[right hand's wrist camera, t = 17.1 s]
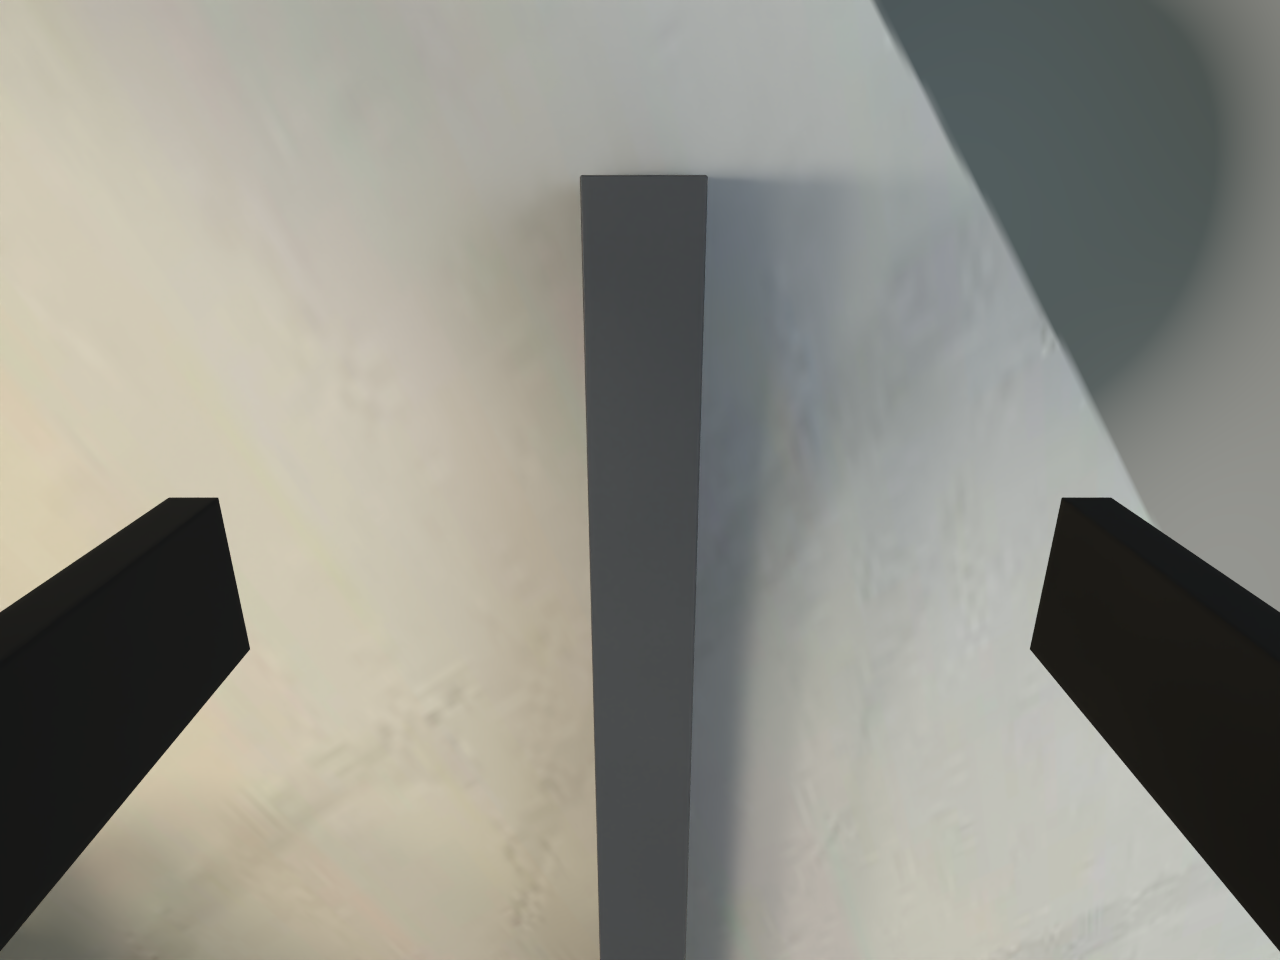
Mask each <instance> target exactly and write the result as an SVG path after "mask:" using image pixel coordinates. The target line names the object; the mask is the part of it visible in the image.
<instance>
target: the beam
mask: <svg viewBox="0 0 1280 960" xmlns="http://www.w3.org/2000/svg"><path fill="white" fill-rule="evenodd" d="M707 180H708V177H707V176H706V175H581V176H580V195H581V234H582V273H583V312H584V351H585V390H586V429H587V468H588V507H589V546H590V585H591V624H592V663H593V702H594V741H595V780H596V819H597V858H598V898H599V937H600V960H685V951H686V916H687V881H688V846H689V811H690V776H691V741H692V705H693V670H694V635H695V600H696V565H697V530H698V495H699V460H700V425H701V390H702V355H703V320H704V285H705V250H706V215H707Z"/></svg>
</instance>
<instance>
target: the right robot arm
mask: <svg viewBox="0 0 1280 960" xmlns="http://www.w3.org/2000/svg"><path fill="white" fill-rule="evenodd" d="M249 650H250V646H249V642H248V637H247V632H246V627H245V623H244V618H243V613H242V608H241V604H240V599H239V594H238V589H237V585H236V580H235V575H234V571H233V566H232V561H231V556H230V552H229V547H228V542H227V537H226V533H225V528H224V523H223V518H222V514H221V509H220V504H219V499H218V498H168V499H166V500H165V501H163V502H162V503H160V504H159V505H157V506H156V507H155V508H153V509H152V510H150V511H149V512H147V513H146V514H144V515H143V516H141V517H140V518H138V519H137V520H135V521H134V522H132V523H131V524H129V525H128V526H127V527H125V528H124V529H122V530H121V531H119V532H118V533H116V534H115V535H113V536H112V537H110V538H109V539H107V540H106V541H104V542H103V543H102V544H100V545H99V546H97V547H96V548H94V549H93V550H91V551H90V552H88V553H87V554H85V555H84V556H82V557H81V558H79V559H78V560H77V561H75V562H74V563H72V564H71V565H69V566H68V567H66V568H65V569H63V570H62V571H60V572H59V573H57V574H56V575H54V576H53V577H52V578H50V579H49V580H47V581H46V582H44V583H43V584H41V585H40V586H38V587H37V588H35V589H34V590H32V591H31V592H29V593H28V594H27V595H25V596H24V597H22V598H21V599H19V600H18V601H16V602H15V603H13V604H12V605H10V606H9V607H7V608H6V609H4V610H3V611H2V612H0V951H1V950H2V949H3V947H4V946H5V945H6V944H7V943H8V941H9V940H10V939H11V938H12V936H13V935H14V934H15V933H16V932H17V930H18V929H19V928H20V927H21V926H22V924H23V923H24V922H25V921H26V920H27V918H28V917H29V916H30V915H31V914H32V912H33V911H34V910H35V909H36V907H37V906H38V905H39V904H40V903H41V901H42V900H43V899H44V898H45V897H46V895H47V894H48V893H49V892H50V891H51V889H52V888H53V887H54V886H55V884H56V883H57V882H58V881H59V880H60V878H61V877H62V876H63V875H64V874H65V872H66V871H67V870H68V869H69V868H70V866H71V865H72V864H73V863H74V862H75V860H76V859H77V858H78V857H79V855H80V854H81V853H82V852H83V851H84V849H85V848H86V847H87V846H88V845H89V843H90V842H91V841H92V840H93V839H94V837H95V836H96V835H97V834H98V832H99V831H100V830H101V829H102V828H103V826H104V825H105V824H106V823H107V822H108V820H109V819H110V818H111V817H112V816H113V814H114V813H115V812H116V811H117V809H118V808H119V807H120V806H121V805H122V803H123V802H124V801H125V800H126V799H127V797H128V796H129V795H130V794H131V793H132V791H133V790H134V789H135V788H136V787H137V785H138V784H139V783H140V782H141V780H142V779H143V778H144V777H145V776H146V774H147V773H148V772H149V771H150V770H151V768H152V767H153V766H154V765H155V764H156V762H157V761H158V760H159V759H160V757H161V756H162V755H163V754H164V753H165V751H166V750H167V749H168V748H169V747H170V745H171V744H172V743H173V742H174V741H175V739H176V738H177V737H178V736H179V734H180V733H181V732H182V731H183V730H184V728H185V727H186V726H187V725H188V724H189V722H190V721H191V720H192V719H193V718H194V716H195V715H196V714H197V713H198V712H199V710H200V709H201V708H202V707H203V705H204V704H205V703H206V702H207V701H208V699H209V698H210V697H211V696H212V695H213V693H214V692H215V691H216V690H217V689H218V687H219V686H220V685H221V684H222V682H223V681H224V680H225V679H226V678H227V676H228V675H229V674H230V673H231V672H232V670H233V669H234V668H235V667H236V666H237V664H238V663H239V662H240V661H241V659H242V658H243V657H244V656H245V655H246V653H247V652H248V651H249ZM1030 650H1031V651H1032V652H1033V653H1034V655H1035V656H1036V657H1037V658H1038V659H1039V661H1040V662H1041V663H1042V664H1043V666H1044V667H1045V668H1046V669H1047V670H1048V672H1049V673H1050V674H1051V675H1052V676H1053V678H1054V679H1055V680H1056V681H1057V682H1058V684H1059V685H1060V686H1061V687H1062V689H1063V690H1064V691H1065V692H1066V693H1067V695H1068V696H1069V697H1070V698H1071V699H1072V701H1073V702H1074V703H1075V704H1076V705H1077V707H1078V708H1079V709H1080V710H1081V712H1082V713H1083V714H1084V715H1085V716H1086V718H1087V719H1088V720H1089V721H1090V722H1091V724H1092V725H1093V726H1094V727H1095V728H1096V730H1097V731H1098V732H1099V733H1100V734H1101V736H1102V737H1103V738H1104V739H1105V741H1106V742H1107V743H1108V744H1109V745H1110V747H1111V748H1112V749H1113V750H1114V751H1115V753H1116V754H1117V755H1118V756H1119V757H1120V759H1121V760H1122V761H1123V762H1124V764H1125V765H1126V766H1127V767H1128V768H1129V770H1130V771H1131V772H1132V773H1133V774H1134V776H1135V777H1136V778H1137V779H1138V780H1139V782H1140V783H1141V784H1142V785H1143V787H1144V788H1145V789H1146V790H1147V791H1148V793H1149V794H1150V795H1151V796H1152V797H1153V799H1154V800H1155V801H1156V802H1157V803H1158V805H1159V806H1160V807H1161V808H1162V809H1163V811H1164V812H1165V813H1166V814H1167V816H1168V817H1169V818H1170V819H1171V820H1172V822H1173V823H1174V824H1175V825H1176V826H1177V828H1178V829H1179V830H1180V831H1181V832H1182V834H1183V835H1184V836H1185V837H1186V839H1187V840H1188V841H1189V842H1190V843H1191V845H1192V846H1193V847H1194V848H1195V849H1196V851H1197V852H1198V853H1199V854H1200V855H1201V857H1202V858H1203V859H1204V860H1205V862H1206V863H1207V864H1208V865H1209V866H1210V868H1211V869H1212V870H1213V871H1214V872H1215V874H1216V875H1217V876H1218V877H1219V878H1220V880H1221V881H1222V882H1223V883H1224V884H1225V886H1226V887H1227V888H1228V889H1229V891H1230V892H1231V893H1232V894H1233V895H1234V897H1235V898H1236V899H1237V900H1238V901H1239V903H1240V904H1241V905H1242V906H1243V907H1244V909H1245V910H1246V911H1247V912H1248V914H1249V915H1250V916H1251V917H1252V918H1253V920H1254V921H1255V922H1256V923H1257V924H1258V926H1259V927H1260V928H1261V929H1262V930H1263V932H1264V933H1265V934H1266V935H1267V936H1268V938H1269V939H1270V940H1271V941H1272V943H1273V944H1274V945H1275V946H1276V947H1277V949H1278V950H1279V951H1280V612H1278V611H1277V610H1276V609H1274V608H1273V607H1271V606H1270V605H1268V604H1267V603H1265V602H1264V601H1262V600H1261V599H1259V598H1258V597H1256V596H1255V595H1253V594H1252V593H1250V592H1249V591H1248V590H1246V589H1245V588H1243V587H1242V586H1240V585H1239V584H1237V583H1236V582H1234V581H1233V580H1231V579H1230V578H1228V577H1227V576H1226V575H1224V574H1223V573H1221V572H1220V571H1218V570H1217V569H1215V568H1214V567H1212V566H1211V565H1209V564H1208V563H1206V562H1205V561H1203V560H1202V559H1200V558H1199V557H1198V556H1196V555H1195V554H1193V553H1192V552H1190V551H1189V550H1187V549H1186V548H1184V547H1183V546H1181V545H1180V544H1178V543H1177V542H1175V541H1174V540H1172V539H1171V538H1170V537H1168V536H1167V535H1165V534H1164V533H1162V532H1161V531H1159V530H1158V529H1156V528H1155V527H1153V526H1152V525H1151V524H1149V523H1148V522H1146V521H1145V520H1143V519H1142V518H1140V517H1139V516H1137V515H1136V514H1134V513H1133V512H1131V511H1130V510H1128V509H1127V508H1125V507H1124V506H1123V505H1121V504H1120V503H1118V502H1117V501H1115V500H1114V499H1112V498H1062V499H1061V504H1060V509H1059V514H1058V518H1057V523H1056V528H1055V533H1054V537H1053V542H1052V547H1051V552H1050V556H1049V561H1048V566H1047V571H1046V575H1045V580H1044V585H1043V589H1042V594H1041V599H1040V604H1039V608H1038V613H1037V618H1036V623H1035V627H1034V632H1033V637H1032V642H1031V646H1030Z"/></svg>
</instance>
